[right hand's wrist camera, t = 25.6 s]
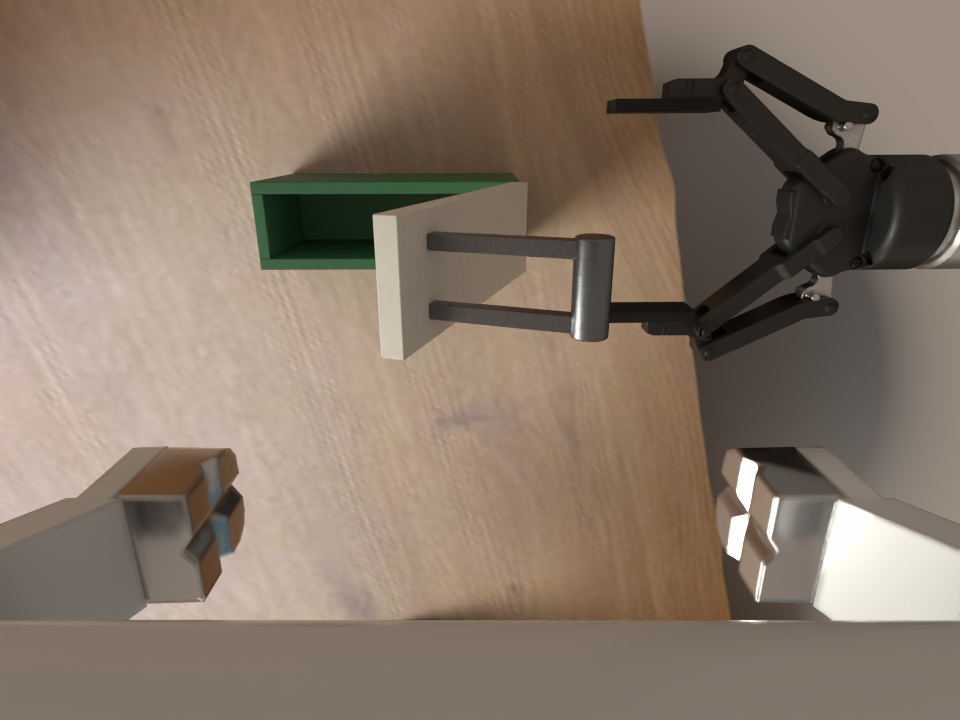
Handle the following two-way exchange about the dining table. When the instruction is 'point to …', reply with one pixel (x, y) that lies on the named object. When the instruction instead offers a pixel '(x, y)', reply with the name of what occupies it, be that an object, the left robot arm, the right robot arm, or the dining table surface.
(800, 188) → the left robot arm
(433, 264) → the door
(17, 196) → the dining table surface
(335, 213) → the chest
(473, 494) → the dining table surface
